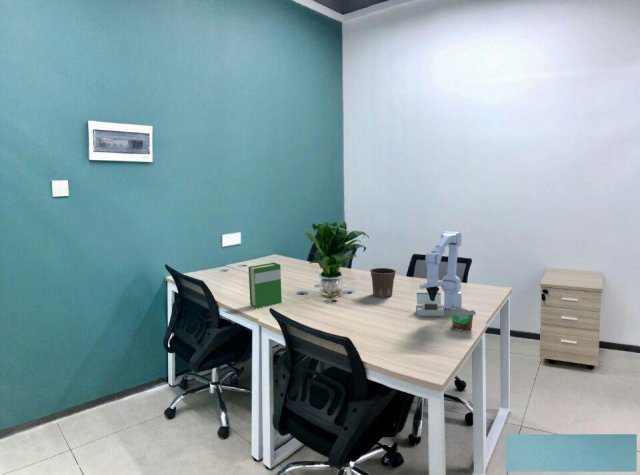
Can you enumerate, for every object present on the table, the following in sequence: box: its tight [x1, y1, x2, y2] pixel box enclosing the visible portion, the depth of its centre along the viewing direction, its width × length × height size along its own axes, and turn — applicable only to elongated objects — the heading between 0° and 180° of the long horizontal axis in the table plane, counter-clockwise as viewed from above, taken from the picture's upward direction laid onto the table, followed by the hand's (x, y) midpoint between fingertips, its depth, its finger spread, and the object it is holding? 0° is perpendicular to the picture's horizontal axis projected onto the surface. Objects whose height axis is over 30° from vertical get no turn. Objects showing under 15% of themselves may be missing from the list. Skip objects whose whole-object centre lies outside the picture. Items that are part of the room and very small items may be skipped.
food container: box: [449, 305, 475, 331], centre depth 203 cm, size 12×6×10 cm, turn 40°
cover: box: [416, 292, 442, 306], centre depth 230 cm, size 13×7×1 cm
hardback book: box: [248, 262, 282, 309], centre depth 248 cm, size 18×7×24 cm, turn 127°
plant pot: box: [369, 267, 397, 298], centre depth 262 cm, size 16×16×16 cm
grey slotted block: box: [415, 304, 445, 317], centre depth 226 cm, size 14×8×4 cm, turn 83°
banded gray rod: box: [423, 304, 440, 310], centre depth 222 cm, size 8×3×3 cm, turn 83°
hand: (432, 300), depth 216 cm, fingers closed
